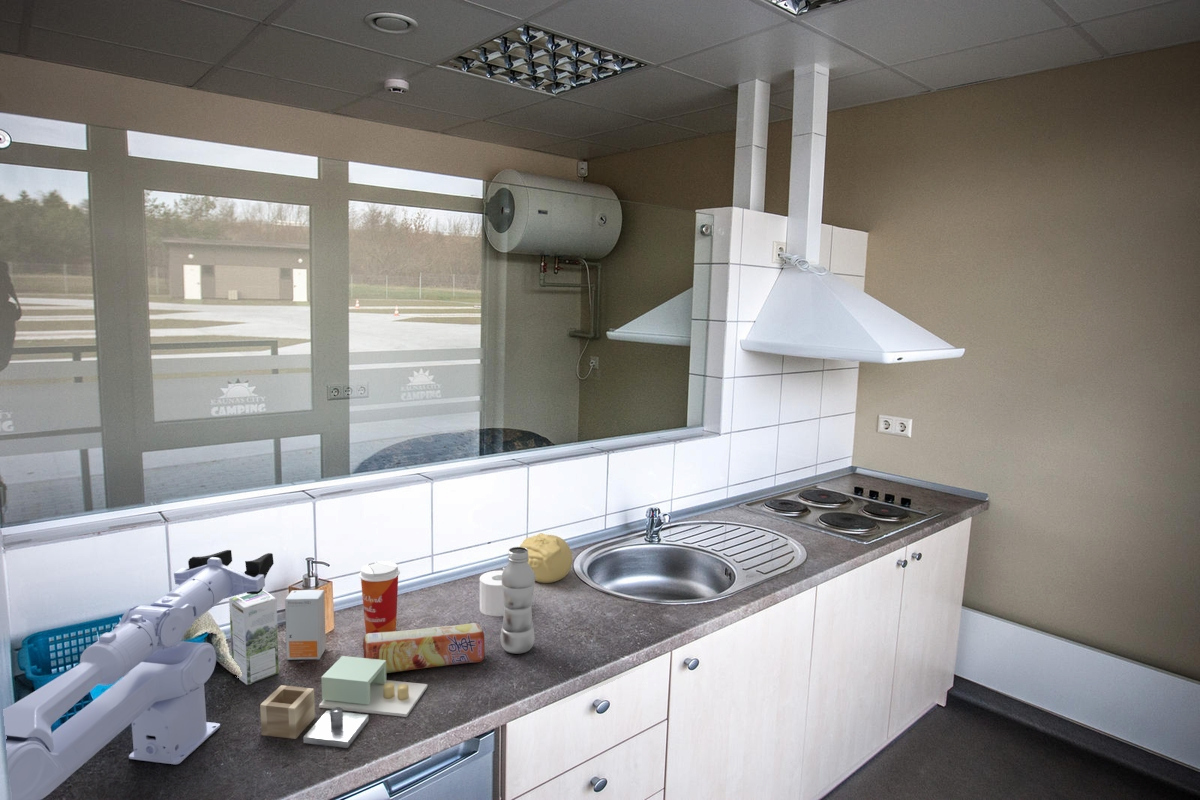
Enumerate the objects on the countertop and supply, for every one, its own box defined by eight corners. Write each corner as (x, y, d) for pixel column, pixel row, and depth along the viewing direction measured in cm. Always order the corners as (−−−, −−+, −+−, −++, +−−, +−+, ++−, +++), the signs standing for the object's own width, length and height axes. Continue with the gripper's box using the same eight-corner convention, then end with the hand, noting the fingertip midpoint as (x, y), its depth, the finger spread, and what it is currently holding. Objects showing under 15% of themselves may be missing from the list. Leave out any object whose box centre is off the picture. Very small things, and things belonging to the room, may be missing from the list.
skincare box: (286, 661, 132) (283, 599, 130) (293, 649, 136) (291, 589, 134) (320, 660, 132) (318, 598, 130) (326, 648, 136) (324, 589, 135)
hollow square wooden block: (295, 738, 109) (294, 708, 108) (261, 734, 110) (260, 704, 109) (315, 717, 115) (314, 688, 114) (282, 714, 115) (281, 685, 115)
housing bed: (406, 717, 115) (406, 703, 115) (319, 707, 117) (318, 694, 117) (427, 686, 124) (427, 674, 124) (345, 678, 126) (345, 666, 126)
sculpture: (512, 578, 172) (512, 535, 170) (547, 564, 181) (548, 523, 180) (546, 592, 165) (546, 547, 163) (581, 577, 174) (582, 534, 172)
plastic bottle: (519, 638, 143) (520, 541, 140) (541, 650, 138) (543, 551, 135) (493, 648, 138) (493, 549, 135) (514, 662, 133) (515, 559, 130)
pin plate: (347, 748, 107) (346, 726, 107) (303, 742, 108) (302, 721, 108) (368, 720, 114) (368, 700, 114) (327, 716, 115) (326, 695, 115)
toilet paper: (509, 592, 164) (510, 563, 163) (521, 613, 153) (521, 582, 152) (473, 597, 161) (473, 567, 160) (483, 618, 151) (483, 587, 150)
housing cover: (368, 704, 117) (367, 681, 117) (322, 699, 118) (321, 677, 118) (386, 681, 124) (386, 660, 124) (342, 677, 125) (342, 655, 125)
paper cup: (353, 634, 142) (351, 566, 140) (388, 621, 148) (386, 557, 146) (373, 648, 137) (372, 578, 135) (408, 634, 143) (407, 567, 141)
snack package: (480, 650, 137) (480, 616, 137) (486, 665, 131) (485, 629, 131) (363, 665, 131) (362, 629, 130) (363, 681, 124) (362, 643, 124)
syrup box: (264, 662, 131) (260, 587, 129) (280, 674, 127) (276, 596, 125) (232, 674, 127) (227, 597, 124) (247, 687, 123) (243, 607, 121)
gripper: (237, 575, 109) (287, 538, 122) (150, 568, 111) (209, 532, 124) (242, 617, 110) (291, 576, 123) (156, 609, 112) (213, 569, 125)
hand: (250, 556), depth 124 cm, fingers open, 7 cm apart
